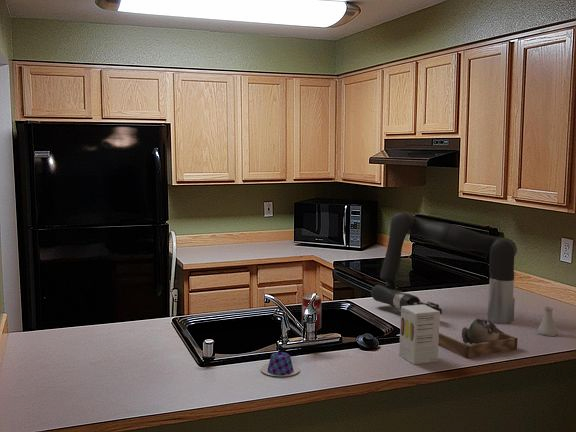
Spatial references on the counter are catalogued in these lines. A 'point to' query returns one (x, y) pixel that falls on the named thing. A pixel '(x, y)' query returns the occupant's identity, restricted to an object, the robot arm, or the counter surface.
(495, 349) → the frame
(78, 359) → the counter surface
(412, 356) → the supplement box
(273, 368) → the pudding
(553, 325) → the flask
